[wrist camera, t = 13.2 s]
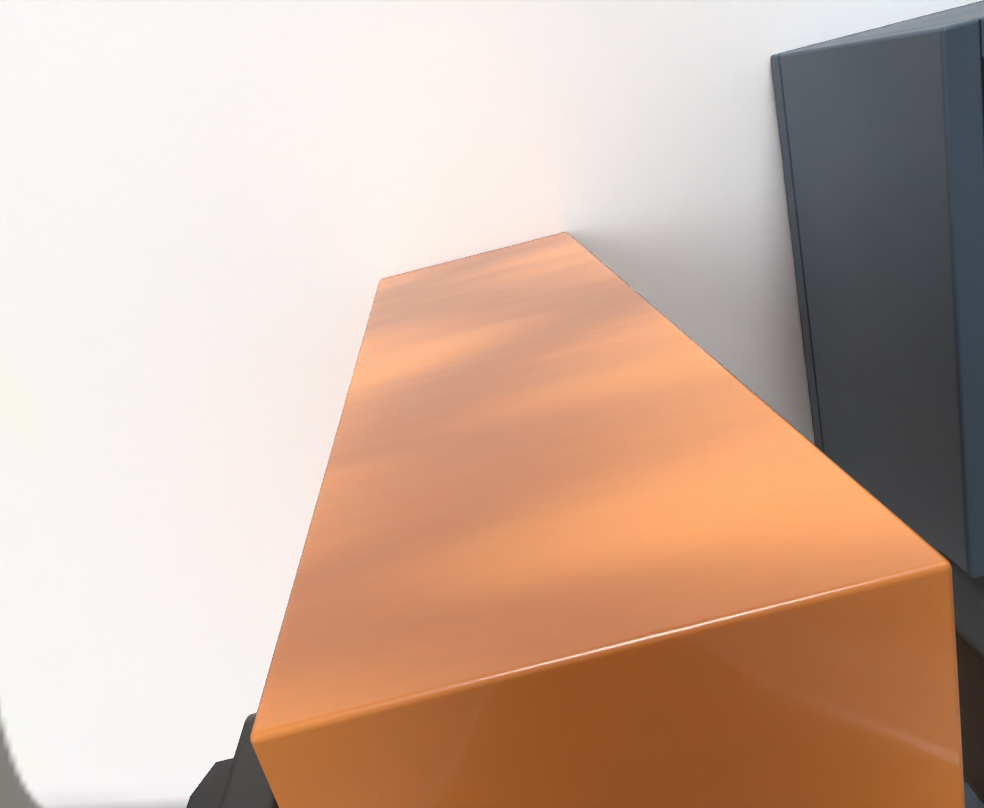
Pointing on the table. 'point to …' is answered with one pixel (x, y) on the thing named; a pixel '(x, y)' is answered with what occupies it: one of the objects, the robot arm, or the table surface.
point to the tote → (894, 264)
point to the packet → (595, 575)
